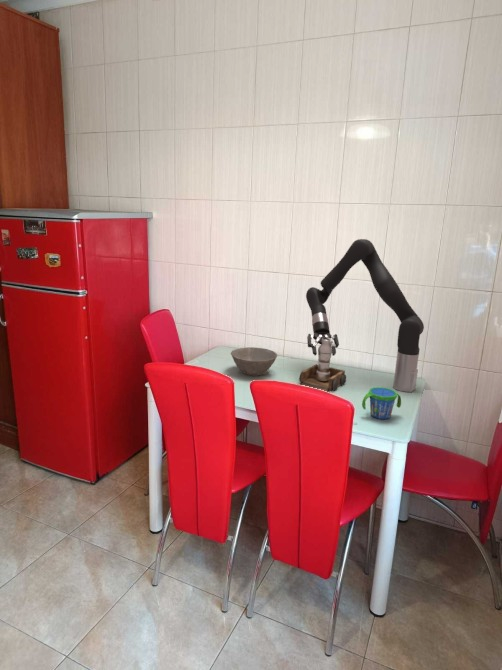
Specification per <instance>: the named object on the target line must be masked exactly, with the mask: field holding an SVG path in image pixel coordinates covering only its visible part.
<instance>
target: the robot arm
mask: <svg viewBox="0 0 502 670" xmlns="http://www.w3.org/2000/svg"><path fill="white" fill-rule="evenodd" d="M360 261H361V262H362V264H363V265H364V266H365V267H366V269H367V271H368V273H369V276H370V279H371V283H372V284H373V287H374V289H375V291H376V293H377V294H378V296H379V297H380V299H381V300H382V301H383V302H384V303H385V304H386V306H388V307H389V308H390V309H391V310H392V311H393V312H394V313H395V314H396V316H397V317H398V319H399V321H400V324H399V327H398V332H397V333H398V334H397V343H396V346H397V352H396V353H397V355H396V361H395V368H394V369H395V370H394V376H393V377H394V378H393V387H392V388H393V389H395V390H397V391H400V392H407V393H413V392H414V391H415V389H416V386H417V379H418V373H419V372H418V371H419V369H418V361H419V355H420V346H419V345H420V337H421V335H422V333H423V332H424V330H425V327H424V326H425V325H424V322H423V321H422V318H420V317H419V315H418V314H417V313H416V311H415V310H414V308H412V307H411V304H409V302H408V300H407V298H406V297H405V295H404V293H403V292H402V290H401V288H400V286H399V285H398V283H397V282H396V280H395V279H394V277H393V275H392V274H391V273H390V271H389V270H388V268H387V267H386V266H385V263H384V262H382V260H381V258H380V256H379V254H378V252H377V250H376V248H375V245H374V244H373V242H372V241H371V240H369V239H367V238H358V239H356V240H354V241H353V242H352V244H351V245H350V246H349V248H348V249H347V251H346V252H345V254H344V255H343V256H342V258H340V260H339V262H337V264H336V265H335V266H334V267H333V268H332V269H331V270H330V271H329V272H328V273H327V274H326V275H325V277H323V278H322V279H321V281H320V286H321V288H322V289H320V288H319V289H318V288H317V287H309V288H308V290H307V291H306V294H305V298H306V302H307V304H308V306H309V309H310V312H311V325H312V332H313V334H311V333H308V334H307V347H308V348H311V351H312V354H313V355H314V356H317V355H318V350H317V345H318V344H319V345H321V344H322V338H329V339H330V344H329V345H330V346H331V348H332V354H331V357H332V356H335V355H336V353H337V349H338V347H339V346H340V343H339V338H338V334H337V333H334V334H333V335H332V334H331V332H330V325H329V319H328V316H327V315H328V314H327V308H326V306H325V305H324V304H325V303H326V302H327V301H328V299H329V297H330V295H331V294H332V292H333V290H335V288H336V287H337V286H338V285H339V284H340V283H341V282H342V281H343V279H344V278H345V277H346V275H347V274H348V272H349V271H350V270H351V269H352V268H353V267H354V266H355V265H356V264H357V263H359V262H360ZM312 340H315V341H314V342H313V343H312Z"/></svg>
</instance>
